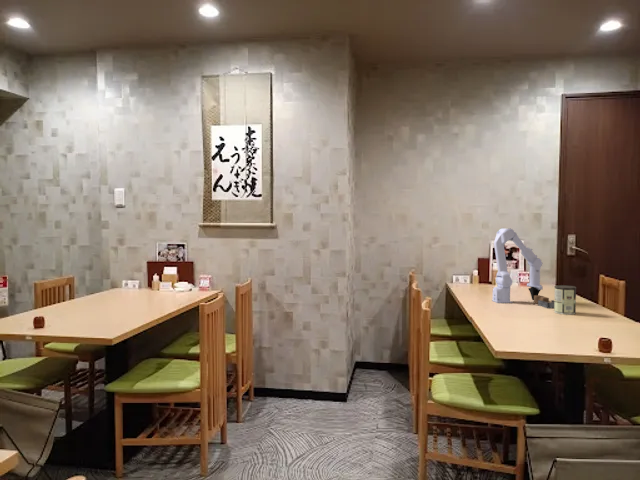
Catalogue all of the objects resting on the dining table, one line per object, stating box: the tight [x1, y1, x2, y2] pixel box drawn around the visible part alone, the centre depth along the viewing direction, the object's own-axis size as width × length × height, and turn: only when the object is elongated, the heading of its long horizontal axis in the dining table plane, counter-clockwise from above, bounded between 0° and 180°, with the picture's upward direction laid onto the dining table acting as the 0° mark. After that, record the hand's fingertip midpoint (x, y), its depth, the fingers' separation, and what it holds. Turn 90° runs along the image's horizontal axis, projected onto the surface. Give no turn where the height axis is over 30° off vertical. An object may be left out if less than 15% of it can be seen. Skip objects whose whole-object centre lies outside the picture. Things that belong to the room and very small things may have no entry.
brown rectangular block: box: [533, 294, 550, 305], centre depth 280 cm, size 10×4×4 cm, turn 4°
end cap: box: [537, 299, 555, 309], centre depth 270 cm, size 9×9×3 cm
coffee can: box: [553, 284, 577, 316], centre depth 252 cm, size 10×10×14 cm
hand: (534, 300), depth 287 cm, fingers closed
